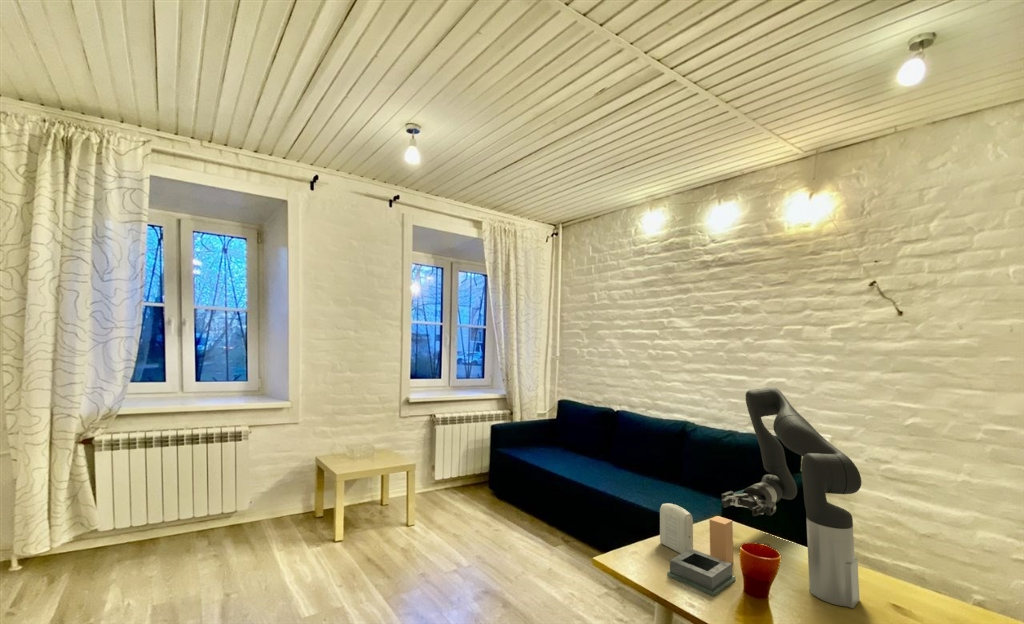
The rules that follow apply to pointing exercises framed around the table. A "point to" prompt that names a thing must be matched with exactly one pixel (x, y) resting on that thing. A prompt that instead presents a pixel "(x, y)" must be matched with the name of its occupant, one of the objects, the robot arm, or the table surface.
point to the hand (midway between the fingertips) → (738, 508)
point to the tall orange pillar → (721, 538)
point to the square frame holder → (701, 571)
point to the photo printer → (676, 528)
